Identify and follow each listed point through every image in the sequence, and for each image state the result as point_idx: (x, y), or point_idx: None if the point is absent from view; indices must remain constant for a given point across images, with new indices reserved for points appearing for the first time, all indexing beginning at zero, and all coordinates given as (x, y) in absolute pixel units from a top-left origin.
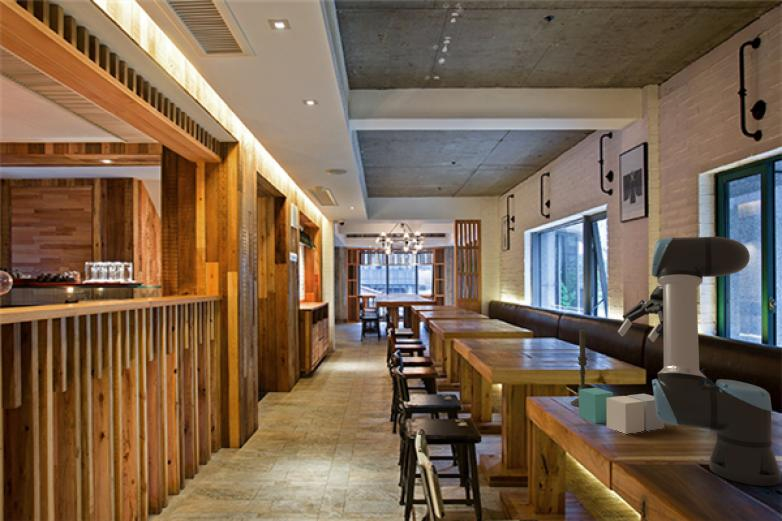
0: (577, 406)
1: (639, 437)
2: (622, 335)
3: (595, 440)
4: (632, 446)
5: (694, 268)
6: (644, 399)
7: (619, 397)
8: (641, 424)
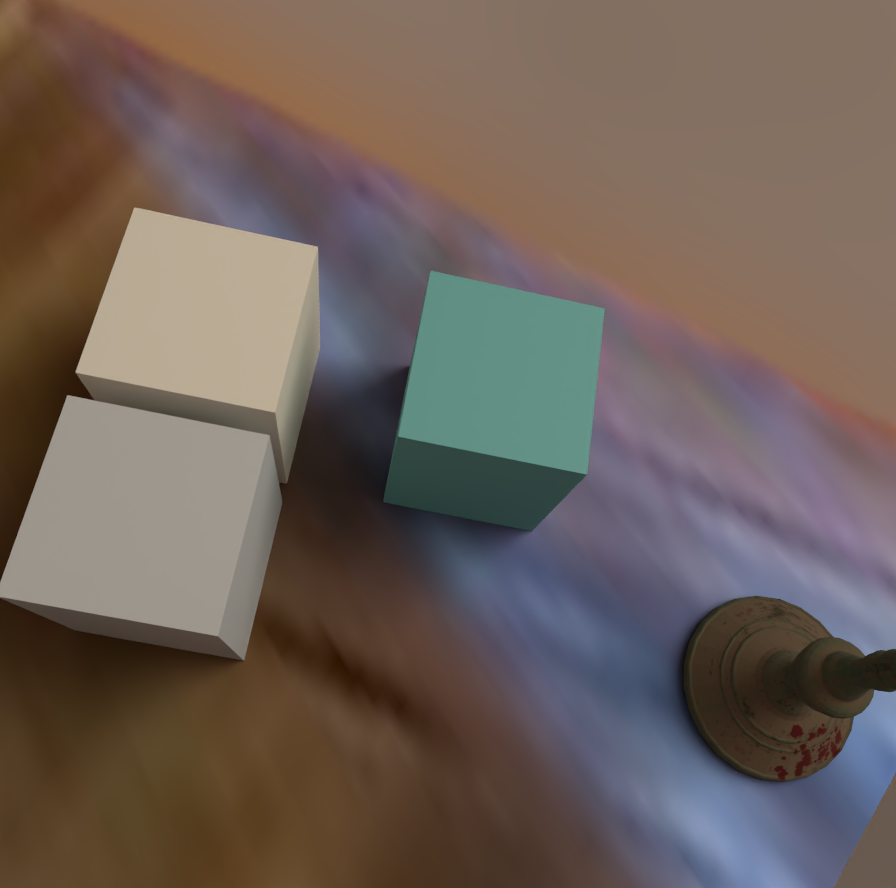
0: (739, 599)
1: None
2: (844, 873)
3: (221, 124)
4: (47, 179)
5: None
6: (103, 432)
7: (266, 331)
8: None
